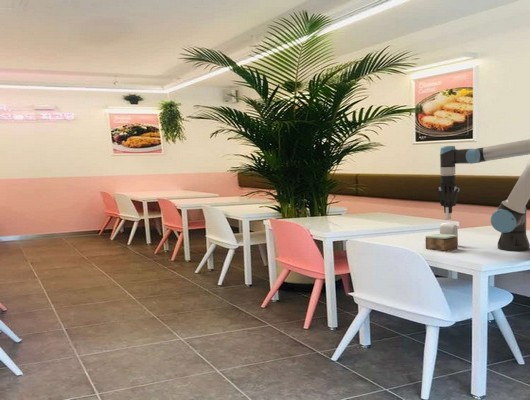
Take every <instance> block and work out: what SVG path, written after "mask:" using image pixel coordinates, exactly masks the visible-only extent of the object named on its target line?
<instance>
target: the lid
mask: <svg viewBox="0 0 530 400" xmlns="http://www.w3.org/2000/svg"><path fill="white" fill-rule="evenodd" d="M458 235H459V234H458ZM458 235H449V234H440V233H436V234H430V235H426V236H425V239H426V238H437V239H448V238H453V237H458Z"/></svg>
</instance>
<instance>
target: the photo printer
mask: <svg viewBox="0 0 530 400" xmlns="http://www.w3.org/2000/svg"><path fill="white" fill-rule="evenodd" d="M439 234H449V235H459V233H458V226H457V224H455V223H453V222H444V223H443V222H442V223H440V225H439ZM457 238H458V237H457Z"/></svg>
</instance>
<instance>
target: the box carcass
mask: <svg viewBox="0 0 530 400" xmlns="http://www.w3.org/2000/svg"><path fill="white" fill-rule="evenodd" d="M458 245H459V240H458V238H457V237H453V238H448V239H437V238H426V237H425V250H433V251H438V252H445V251H446V252H450V251H454V250H459V249H458V248H459V247H458Z"/></svg>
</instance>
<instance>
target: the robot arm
mask: <svg viewBox="0 0 530 400" xmlns="http://www.w3.org/2000/svg"><path fill="white" fill-rule="evenodd" d="M439 152H440V154H439V157H440V158H439V160H440V162H439V163H440V166H439V167H440V169H439V170H440V172H439V173H440V179H439V180H440V181H439V182H440V186H439V187H437V188H436V189H435V190H436V191H437V194H438V199H439V203H440V206H441V207H443V213H444V214H445V221H446V220H452V219H451V218H452V217H451V216H452V214H453V207H455V206H456V205H457V201H458V197H459V193H460V191H461V188H459V187H457V184H456V165H457V164H458V165H460V164H470V165H472V164H480V163H484V162H489V161H496V160H502V159H509V158H516V157H523V156H529V155H530V138H529V139H524V140H523V139H522V140H518V141H512V142H507V143H500V144H496V145H489V146H484V147H477V148H462V149H461V148H458V149H457V148H456V146H455V145H444V146H441V147H440V151H439ZM529 200H530V159H529V161H528V162H527V164H526V166H525V168H524V169H523V171H522V172H521V174H520V176H519V178H518V180H517V181H516V182H515V185H514V186H513V188H512V190H511V192H510V193H509V195H508V197H507V199H506V200H503V201H502V200H501V202H500V205H498V207H497V209H496V210H495V211H494V212H492V214H491V216H490V224H491V226H492V228H493V229H494V230H496V231H497V232H499V233H500V236H499V239H498V241H497V249H499V250H504V251H511V252H519V251H520V252H521V251H522V252H525V251H530V241H529V239H528V236H527V207H526V205H527V204H528V202H529Z"/></svg>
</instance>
